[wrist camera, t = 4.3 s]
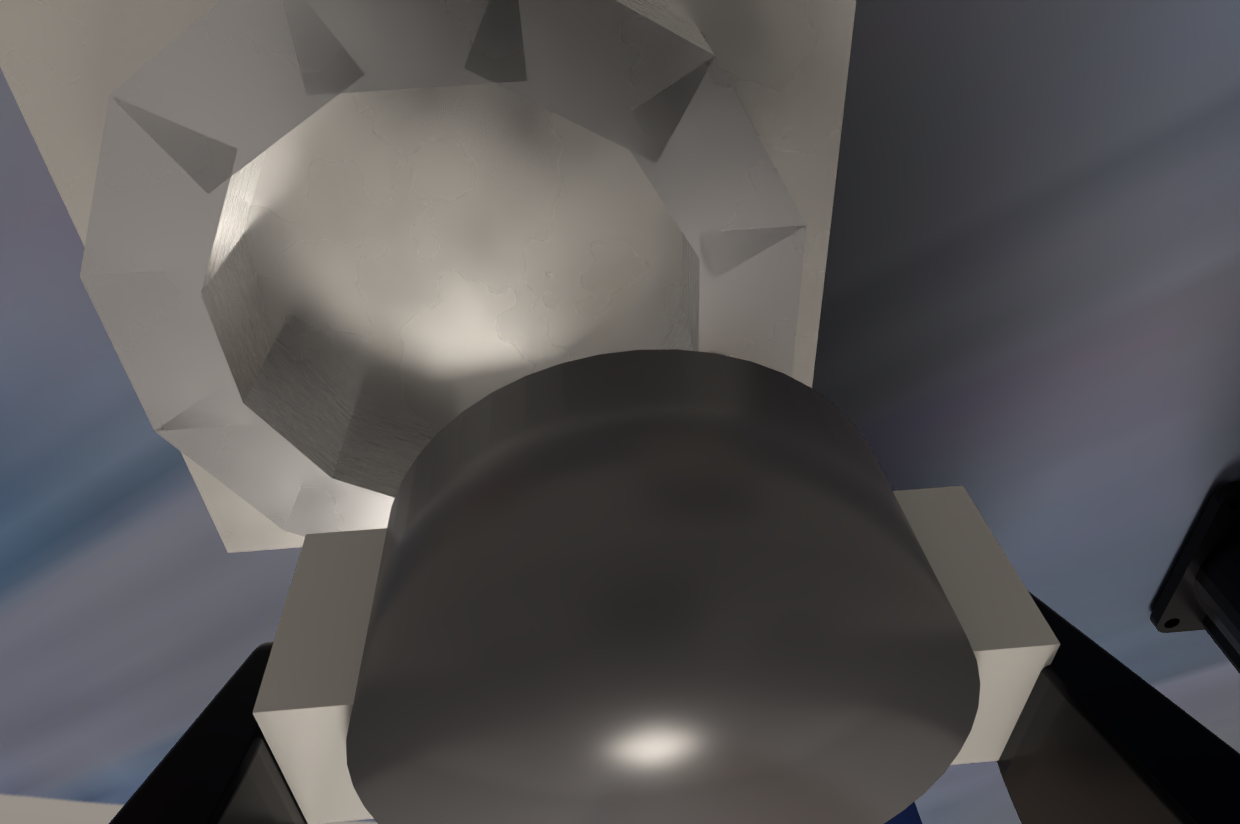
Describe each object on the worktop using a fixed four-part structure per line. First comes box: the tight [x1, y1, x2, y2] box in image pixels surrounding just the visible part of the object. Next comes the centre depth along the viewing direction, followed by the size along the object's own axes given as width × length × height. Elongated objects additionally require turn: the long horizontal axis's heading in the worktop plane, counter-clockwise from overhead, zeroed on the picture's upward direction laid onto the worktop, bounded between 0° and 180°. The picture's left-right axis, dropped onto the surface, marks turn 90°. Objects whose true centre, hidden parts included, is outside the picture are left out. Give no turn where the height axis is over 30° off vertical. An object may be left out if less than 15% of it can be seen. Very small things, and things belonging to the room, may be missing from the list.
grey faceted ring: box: [0, 0, 856, 553], centre depth 18 cm, size 16×16×3 cm
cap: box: [253, 349, 1060, 824], centre depth 9 cm, size 6×7×3 cm
